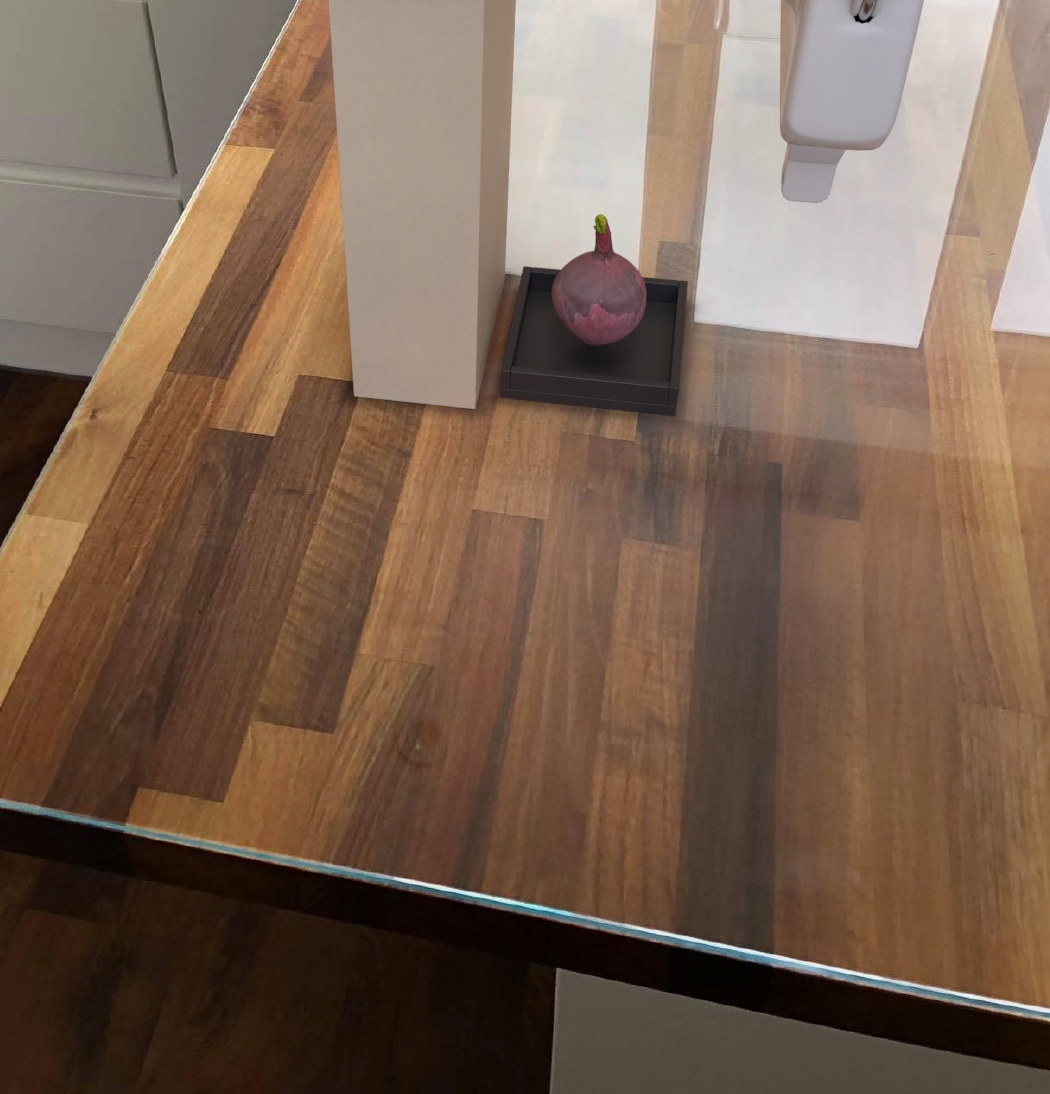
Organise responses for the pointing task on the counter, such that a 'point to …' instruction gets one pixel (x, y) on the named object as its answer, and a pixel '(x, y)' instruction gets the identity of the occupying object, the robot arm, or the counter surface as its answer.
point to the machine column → (423, 189)
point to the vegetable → (599, 292)
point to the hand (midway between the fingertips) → (802, 127)
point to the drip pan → (595, 352)
